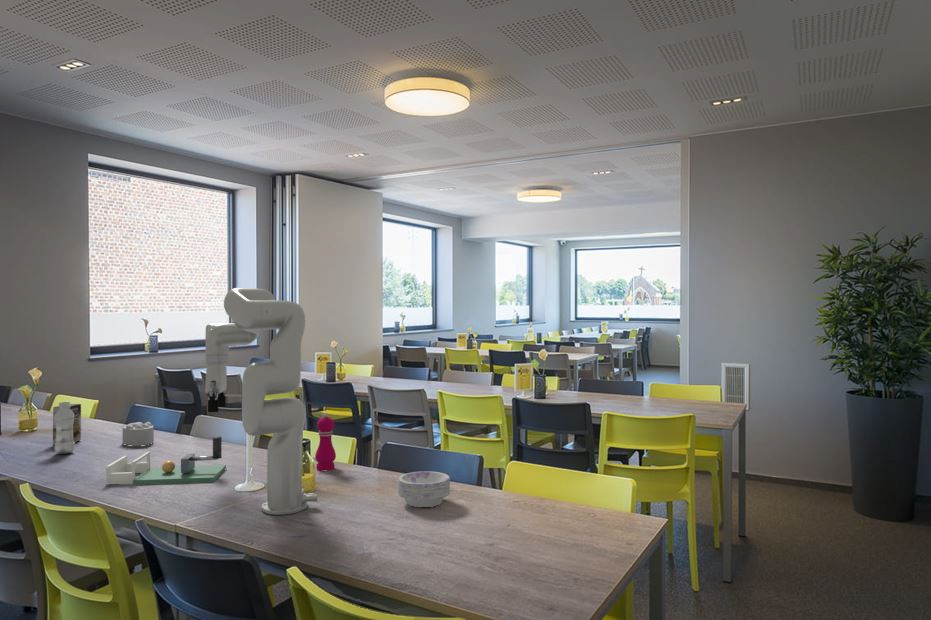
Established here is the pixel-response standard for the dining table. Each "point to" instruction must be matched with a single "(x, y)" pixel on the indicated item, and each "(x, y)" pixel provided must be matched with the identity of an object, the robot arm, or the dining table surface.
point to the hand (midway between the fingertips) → (216, 409)
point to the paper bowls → (424, 488)
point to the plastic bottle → (64, 429)
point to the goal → (126, 470)
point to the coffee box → (76, 425)
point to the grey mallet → (190, 459)
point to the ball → (168, 466)
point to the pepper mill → (325, 444)
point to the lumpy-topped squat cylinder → (138, 434)
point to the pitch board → (180, 475)
